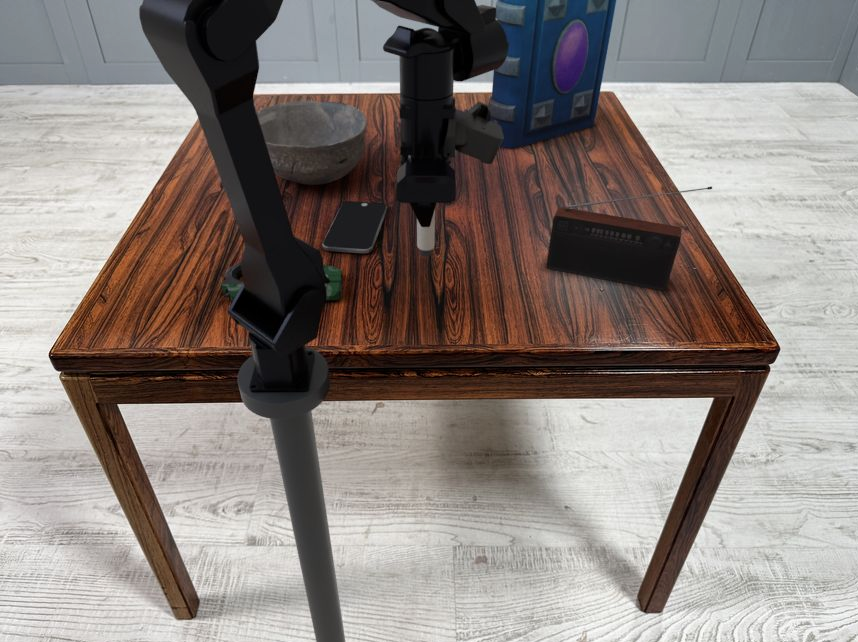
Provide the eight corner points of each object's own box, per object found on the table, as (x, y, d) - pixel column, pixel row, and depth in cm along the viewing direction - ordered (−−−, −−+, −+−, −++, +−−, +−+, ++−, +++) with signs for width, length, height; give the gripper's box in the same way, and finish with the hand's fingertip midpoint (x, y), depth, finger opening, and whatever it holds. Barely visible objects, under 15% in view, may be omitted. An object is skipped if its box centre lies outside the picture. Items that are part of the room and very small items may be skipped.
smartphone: (388, 203, 107) (371, 250, 96) (388, 207, 108) (371, 254, 96) (342, 200, 108) (319, 246, 97) (343, 204, 109) (320, 250, 97)
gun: (345, 254, 94) (340, 294, 86) (346, 263, 95) (340, 303, 87) (232, 255, 94) (216, 295, 86) (234, 263, 95) (219, 304, 87)
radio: (545, 269, 94) (560, 171, 84) (549, 259, 96) (564, 162, 86) (680, 296, 89) (712, 194, 79) (681, 284, 91) (713, 184, 81)
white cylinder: (434, 257, 82) (435, 191, 76) (416, 257, 82) (416, 191, 76) (434, 248, 84) (435, 183, 78) (417, 248, 84) (417, 183, 78)
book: (507, 154, 124) (525, -26, 105) (479, 139, 130) (491, -36, 110) (598, 128, 134) (630, -41, 115) (569, 115, 140) (594, -49, 120)
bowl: (281, 214, 106) (273, 155, 100) (236, 168, 119) (226, 113, 113) (391, 183, 115) (389, 127, 108) (337, 143, 128) (333, 91, 121)
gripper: (510, 125, 63) (497, 263, 73) (494, 64, 77) (485, 187, 87) (394, 124, 63) (398, 262, 73) (400, 64, 77) (402, 186, 87)
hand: (425, 221), depth 80 cm, fingers closed on white cylinder, 2 cm apart
